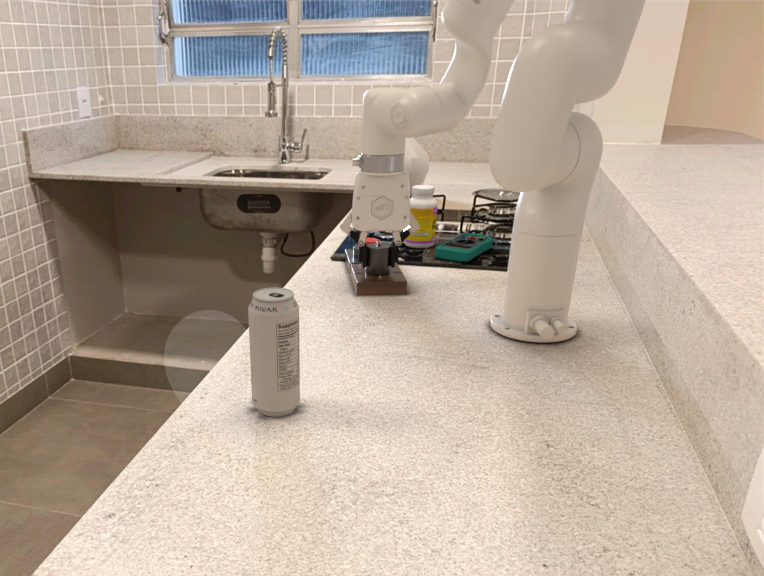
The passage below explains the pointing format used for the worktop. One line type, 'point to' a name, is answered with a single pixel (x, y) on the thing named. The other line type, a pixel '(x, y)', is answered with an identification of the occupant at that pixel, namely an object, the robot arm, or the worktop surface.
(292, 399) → the energy drink can
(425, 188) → the supplement bottle
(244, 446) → the worktop surface
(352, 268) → the dial panel
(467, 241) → the digital multimeter
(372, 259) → the dial
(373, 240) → the button
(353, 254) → the button block
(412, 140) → the vase
